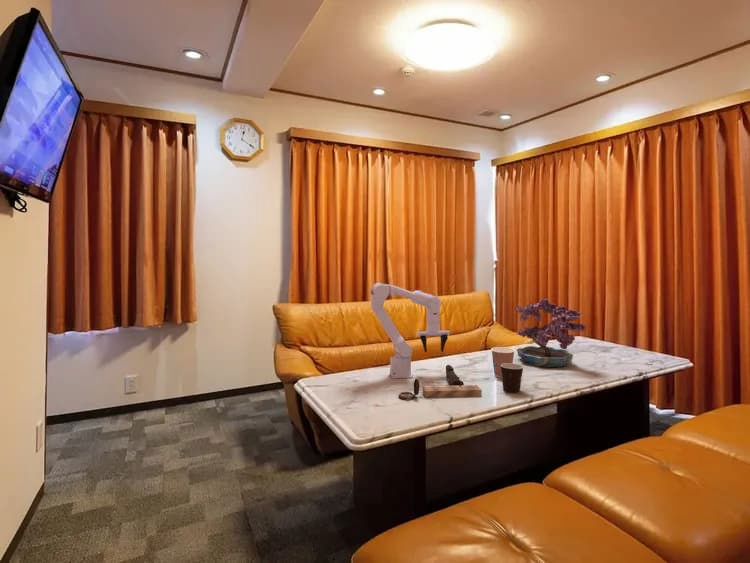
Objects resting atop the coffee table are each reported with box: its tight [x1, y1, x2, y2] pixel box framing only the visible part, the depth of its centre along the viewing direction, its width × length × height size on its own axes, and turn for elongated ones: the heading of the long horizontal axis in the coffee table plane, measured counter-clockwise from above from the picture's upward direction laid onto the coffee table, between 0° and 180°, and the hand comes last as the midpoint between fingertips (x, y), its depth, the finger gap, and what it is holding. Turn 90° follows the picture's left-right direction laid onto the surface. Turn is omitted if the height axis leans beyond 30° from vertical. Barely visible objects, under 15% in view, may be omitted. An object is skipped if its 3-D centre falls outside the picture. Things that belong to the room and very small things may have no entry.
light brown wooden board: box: [422, 384, 483, 399], centre depth 162 cm, size 22×6×3 cm, turn 93°
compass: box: [397, 378, 421, 401], centre depth 157 cm, size 8×8×7 cm
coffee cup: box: [490, 346, 516, 379], centre depth 186 cm, size 10×10×12 cm
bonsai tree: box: [515, 298, 586, 368], centre depth 205 cm, size 35×27×32 cm
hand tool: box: [445, 364, 464, 386], centre depth 176 cm, size 23×5×6 cm, turn 178°
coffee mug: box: [501, 362, 524, 394], centre depth 165 cm, size 12×9×10 cm
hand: (433, 351), depth 189 cm, fingers open, 7 cm apart
